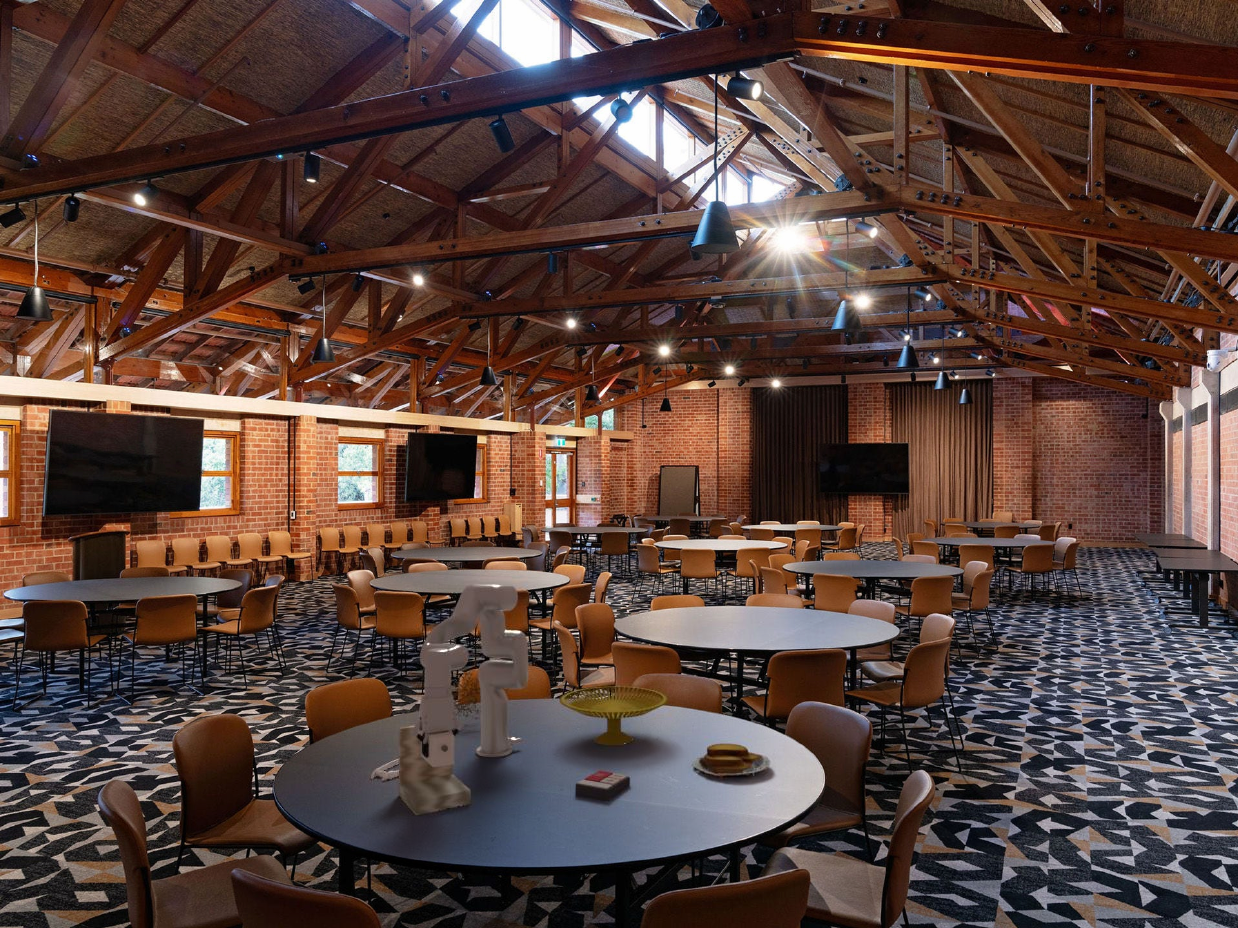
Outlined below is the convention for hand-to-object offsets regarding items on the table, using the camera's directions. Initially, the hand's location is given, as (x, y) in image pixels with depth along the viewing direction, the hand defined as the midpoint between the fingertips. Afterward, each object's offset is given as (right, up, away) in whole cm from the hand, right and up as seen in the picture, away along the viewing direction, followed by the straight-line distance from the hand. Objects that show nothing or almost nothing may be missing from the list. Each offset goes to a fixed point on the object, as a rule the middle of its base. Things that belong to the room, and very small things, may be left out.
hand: (437, 753), depth 234 cm
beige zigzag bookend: (-1, -14, +2) cm, 14 cm away
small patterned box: (+48, -15, +9) cm, 51 cm away
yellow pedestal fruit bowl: (+51, -17, +61) cm, 81 cm away
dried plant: (-2, -18, +84) cm, 86 cm away
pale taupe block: (0, -2, 0) cm, 2 cm away
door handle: (-18, -16, +31) cm, 39 cm away
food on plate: (+90, -16, +28) cm, 95 cm away
